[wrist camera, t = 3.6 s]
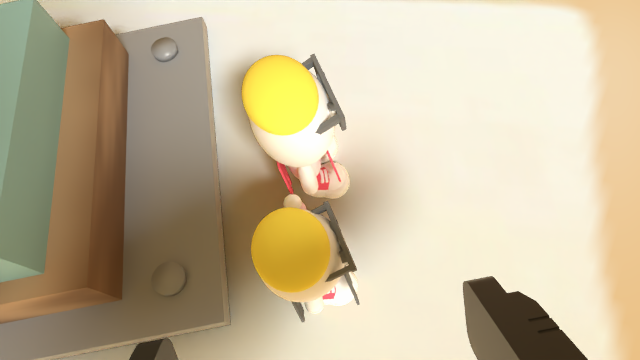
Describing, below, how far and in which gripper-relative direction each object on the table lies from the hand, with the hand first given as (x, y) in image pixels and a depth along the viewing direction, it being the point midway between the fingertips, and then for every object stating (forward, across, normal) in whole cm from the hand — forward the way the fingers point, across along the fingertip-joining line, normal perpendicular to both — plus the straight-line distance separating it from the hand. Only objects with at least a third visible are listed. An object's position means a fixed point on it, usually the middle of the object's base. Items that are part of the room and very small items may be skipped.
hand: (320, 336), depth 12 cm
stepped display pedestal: (+15, +16, -2) cm, 22 cm away
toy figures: (+12, 0, +2) cm, 12 cm away
